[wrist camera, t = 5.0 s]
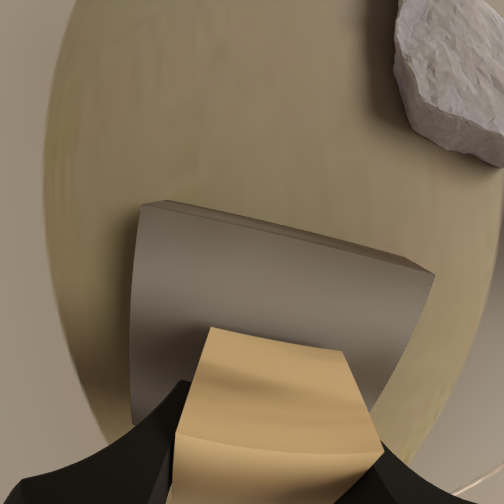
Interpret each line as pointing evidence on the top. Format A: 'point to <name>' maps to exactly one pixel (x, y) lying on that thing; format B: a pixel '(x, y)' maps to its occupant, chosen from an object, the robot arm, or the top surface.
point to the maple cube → (271, 425)
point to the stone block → (453, 74)
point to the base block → (261, 296)
